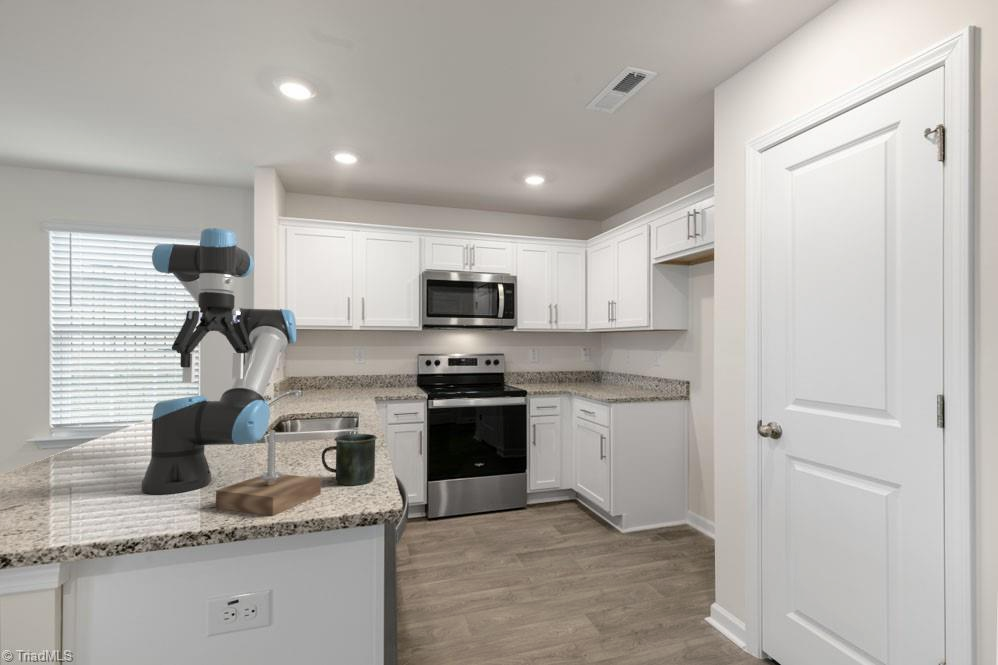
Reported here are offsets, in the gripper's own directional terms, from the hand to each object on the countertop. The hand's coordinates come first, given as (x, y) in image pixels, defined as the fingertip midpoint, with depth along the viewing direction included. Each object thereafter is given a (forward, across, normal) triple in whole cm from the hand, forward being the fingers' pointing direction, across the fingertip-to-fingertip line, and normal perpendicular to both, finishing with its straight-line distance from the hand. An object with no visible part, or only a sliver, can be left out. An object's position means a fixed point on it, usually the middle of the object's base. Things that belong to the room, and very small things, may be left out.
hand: (214, 380), depth 113 cm
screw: (+25, +4, -14) cm, 29 cm away
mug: (+29, +24, -22) cm, 44 cm away
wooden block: (+29, +4, -14) cm, 32 cm away
